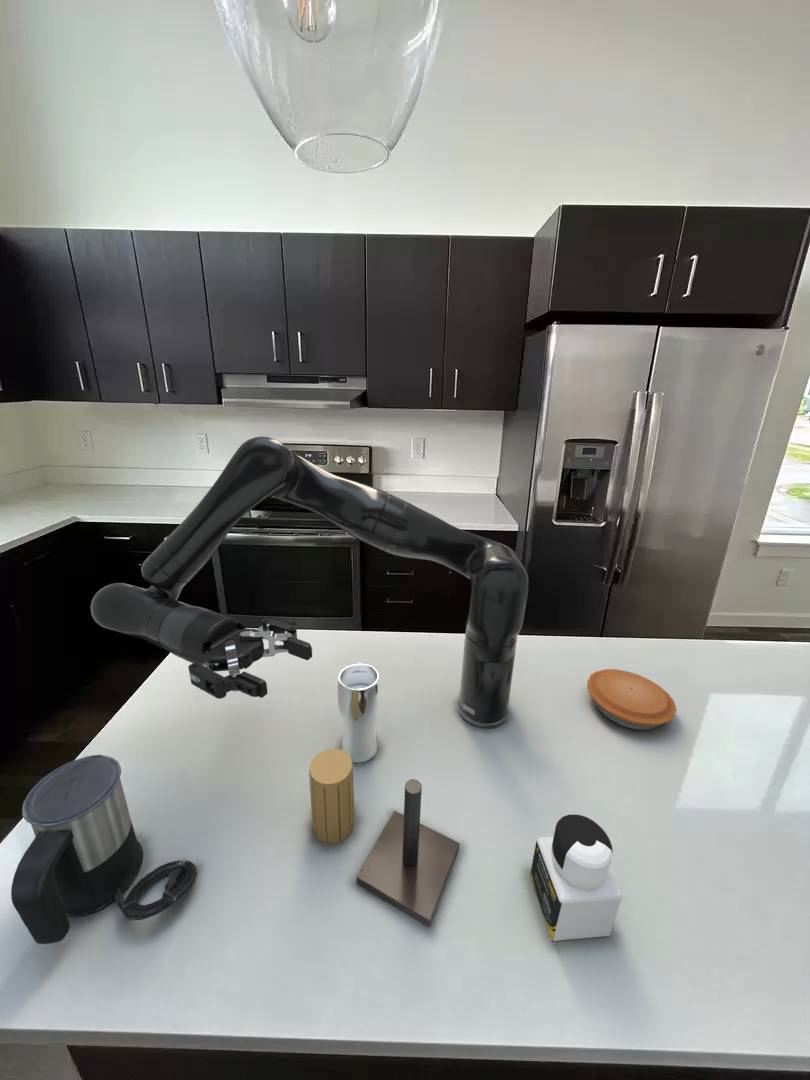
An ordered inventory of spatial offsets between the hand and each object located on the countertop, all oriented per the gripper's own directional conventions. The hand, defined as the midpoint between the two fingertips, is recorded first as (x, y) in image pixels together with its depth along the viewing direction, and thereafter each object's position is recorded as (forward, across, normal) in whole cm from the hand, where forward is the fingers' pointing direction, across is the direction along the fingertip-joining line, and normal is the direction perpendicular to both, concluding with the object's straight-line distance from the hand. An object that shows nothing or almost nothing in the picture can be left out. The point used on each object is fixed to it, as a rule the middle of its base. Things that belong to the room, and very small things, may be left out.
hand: (289, 670), depth 55 cm
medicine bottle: (+37, +5, +24) cm, 45 cm away
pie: (+43, +46, +24) cm, 68 cm away
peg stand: (+18, 0, +24) cm, 30 cm away
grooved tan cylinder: (+6, 0, +24) cm, 25 cm away
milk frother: (-12, -18, +24) cm, 32 cm away
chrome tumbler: (+2, +13, +24) cm, 28 cm away
